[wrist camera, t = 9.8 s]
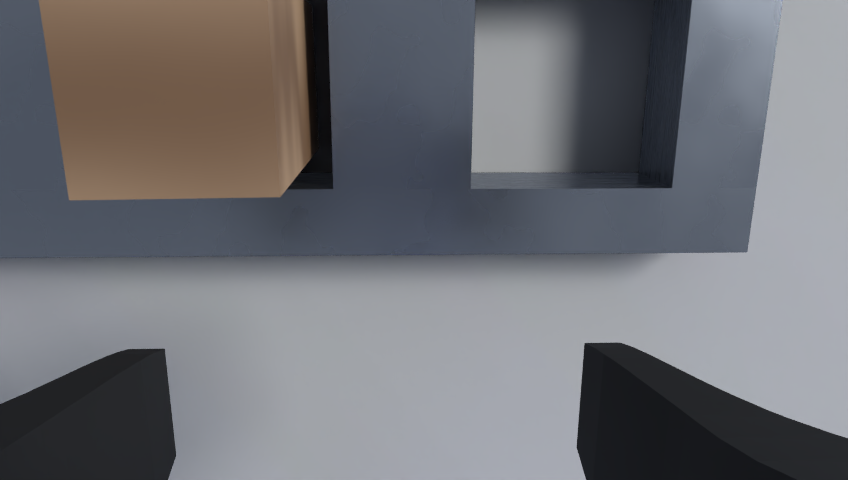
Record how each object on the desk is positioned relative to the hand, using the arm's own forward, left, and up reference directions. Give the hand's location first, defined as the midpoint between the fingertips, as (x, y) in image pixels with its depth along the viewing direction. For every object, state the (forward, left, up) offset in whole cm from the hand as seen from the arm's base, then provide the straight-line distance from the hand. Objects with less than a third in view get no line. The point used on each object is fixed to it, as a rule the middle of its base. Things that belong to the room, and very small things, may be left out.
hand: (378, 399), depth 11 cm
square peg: (+5, +4, -10) cm, 11 cm away
